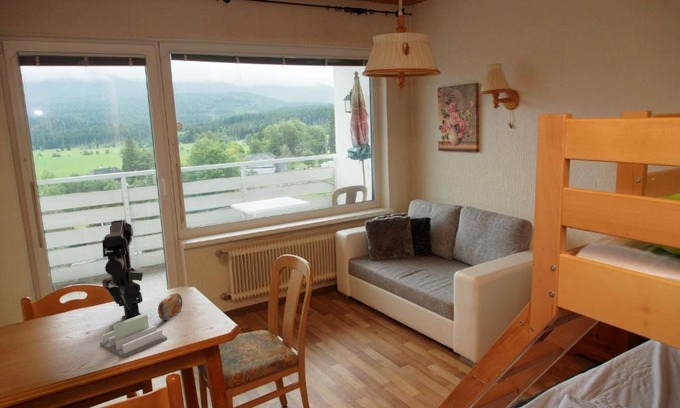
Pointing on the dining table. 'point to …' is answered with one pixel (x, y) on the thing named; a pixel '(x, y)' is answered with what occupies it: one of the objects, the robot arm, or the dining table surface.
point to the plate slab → (130, 326)
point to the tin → (170, 307)
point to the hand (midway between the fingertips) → (124, 306)
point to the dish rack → (132, 341)
